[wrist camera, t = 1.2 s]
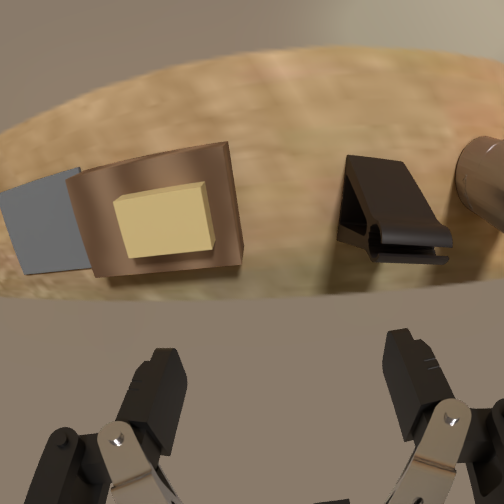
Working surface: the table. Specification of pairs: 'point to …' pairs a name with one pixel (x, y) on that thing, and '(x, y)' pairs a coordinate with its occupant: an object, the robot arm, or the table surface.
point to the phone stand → (389, 214)
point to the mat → (44, 225)
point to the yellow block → (166, 220)
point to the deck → (148, 178)
